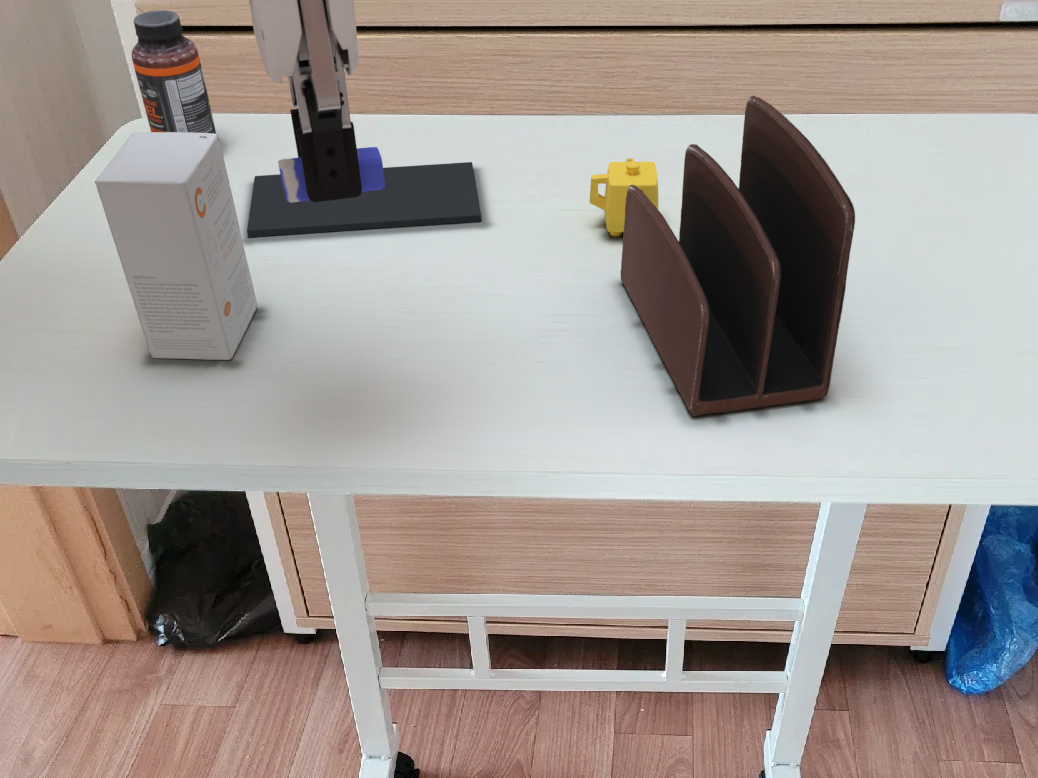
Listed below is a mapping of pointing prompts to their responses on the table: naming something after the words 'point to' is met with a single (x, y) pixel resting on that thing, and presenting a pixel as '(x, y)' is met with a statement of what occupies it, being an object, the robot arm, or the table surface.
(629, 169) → the teapot
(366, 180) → the eraser
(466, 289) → the table surface
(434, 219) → the mat
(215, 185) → the small box
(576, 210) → the table surface
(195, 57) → the supplement bottle
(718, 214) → the letter holder
